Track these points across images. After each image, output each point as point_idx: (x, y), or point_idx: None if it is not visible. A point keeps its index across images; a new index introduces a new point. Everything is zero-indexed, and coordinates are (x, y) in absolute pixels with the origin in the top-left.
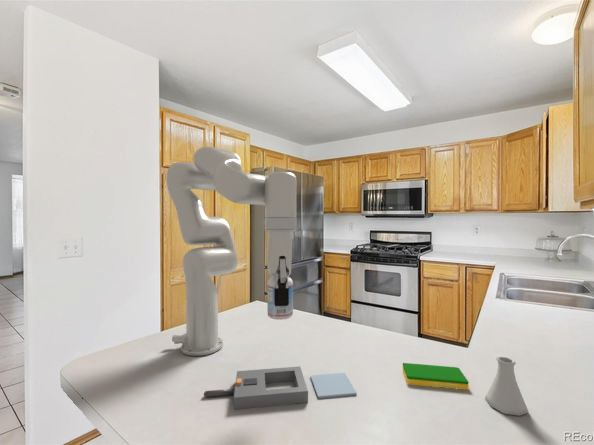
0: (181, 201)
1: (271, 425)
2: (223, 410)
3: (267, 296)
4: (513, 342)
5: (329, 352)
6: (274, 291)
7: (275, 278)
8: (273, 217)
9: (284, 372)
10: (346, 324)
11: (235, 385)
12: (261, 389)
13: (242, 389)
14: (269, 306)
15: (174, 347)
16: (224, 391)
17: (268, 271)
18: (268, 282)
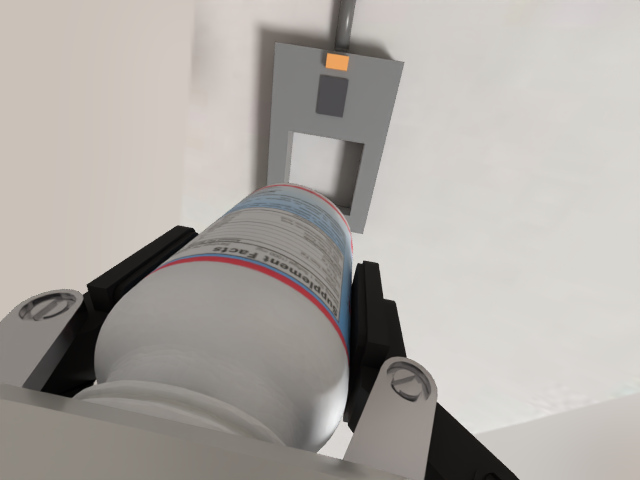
0: None
1: (221, 125)
2: (284, 19)
3: (265, 217)
4: None
5: (433, 314)
6: (110, 269)
7: (15, 373)
8: None
9: (354, 192)
10: (552, 404)
11: (328, 50)
12: (293, 120)
13: (304, 70)
14: (244, 202)
15: None
16: (340, 19)
17: (75, 427)
18: (169, 284)
